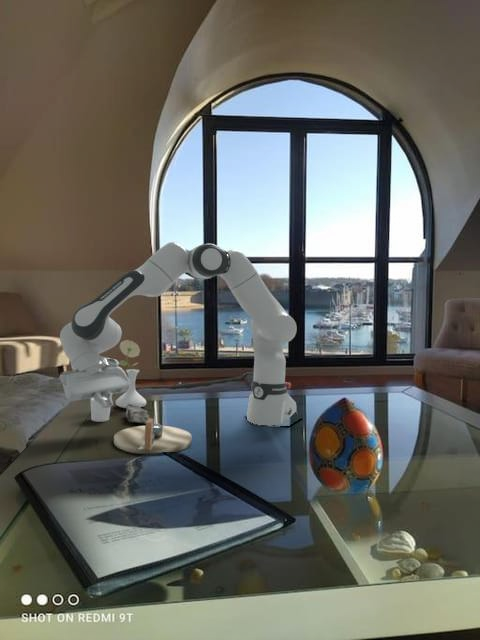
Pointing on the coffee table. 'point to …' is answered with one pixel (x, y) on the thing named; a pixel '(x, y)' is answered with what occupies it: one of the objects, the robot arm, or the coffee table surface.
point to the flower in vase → (130, 377)
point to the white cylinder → (99, 411)
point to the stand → (167, 442)
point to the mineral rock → (137, 414)
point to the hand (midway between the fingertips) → (108, 406)
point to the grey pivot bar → (152, 432)
